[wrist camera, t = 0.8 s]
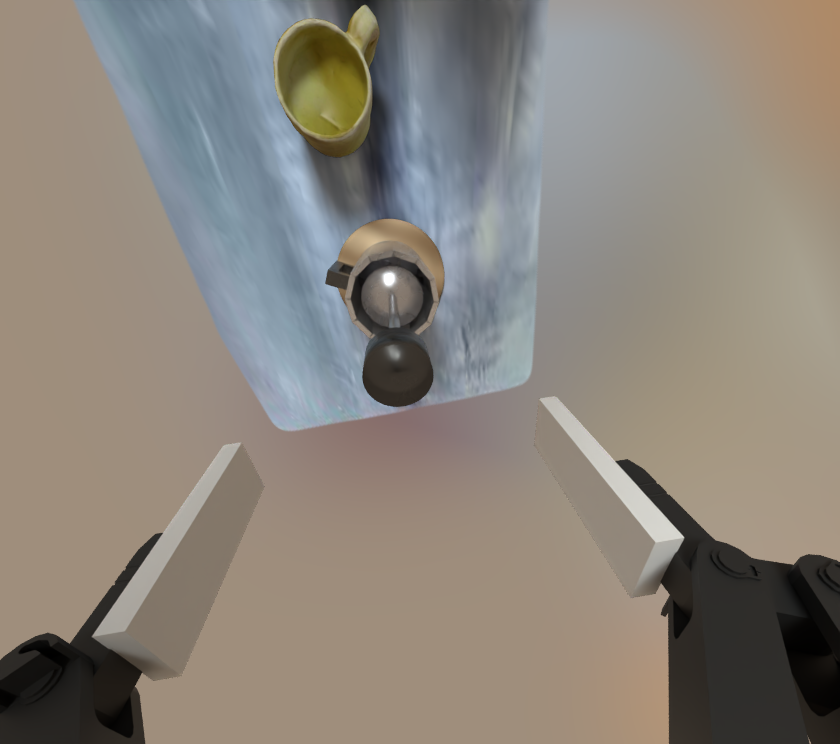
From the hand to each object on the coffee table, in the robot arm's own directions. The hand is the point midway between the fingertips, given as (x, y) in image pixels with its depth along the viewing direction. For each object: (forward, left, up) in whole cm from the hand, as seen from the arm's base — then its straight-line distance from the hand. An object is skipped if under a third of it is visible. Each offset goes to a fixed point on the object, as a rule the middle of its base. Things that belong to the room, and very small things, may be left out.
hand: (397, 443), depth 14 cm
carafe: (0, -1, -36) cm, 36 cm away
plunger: (0, 0, -26) cm, 26 cm away
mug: (-18, -11, -37) cm, 42 cm away
